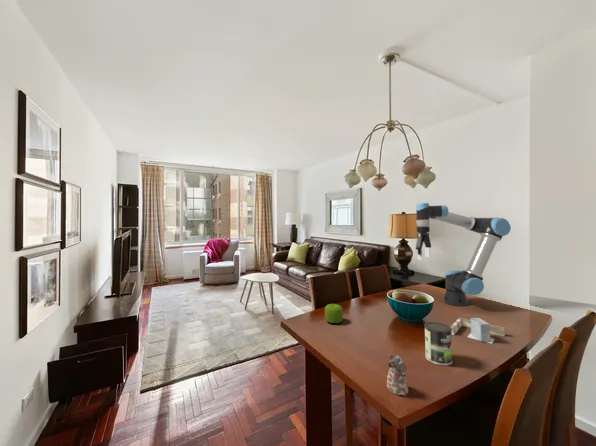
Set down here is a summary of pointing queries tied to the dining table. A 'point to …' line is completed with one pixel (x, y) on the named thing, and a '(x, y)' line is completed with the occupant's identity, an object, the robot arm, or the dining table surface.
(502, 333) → the corner walls
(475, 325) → the medicine box
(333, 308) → the apple
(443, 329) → the coffee can
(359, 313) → the dining table surface
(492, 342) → the pad
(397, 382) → the figurine
